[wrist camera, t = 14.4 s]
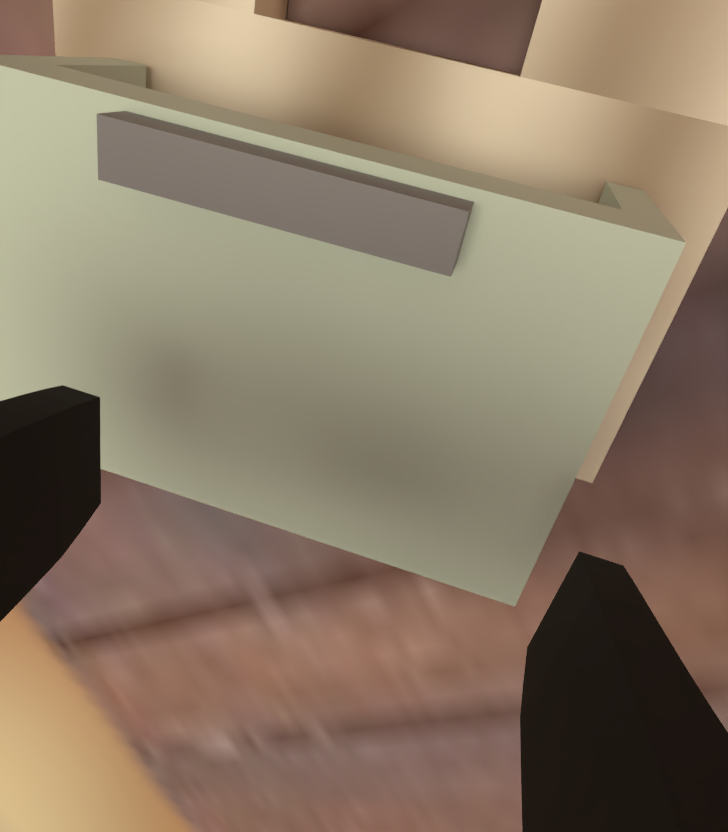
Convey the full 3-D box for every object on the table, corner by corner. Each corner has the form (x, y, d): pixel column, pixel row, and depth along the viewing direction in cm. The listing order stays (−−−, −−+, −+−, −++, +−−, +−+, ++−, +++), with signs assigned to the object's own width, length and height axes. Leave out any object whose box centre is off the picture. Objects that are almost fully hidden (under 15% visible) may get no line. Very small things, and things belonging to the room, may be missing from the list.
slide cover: (643, 190, 13) (697, 255, 9) (521, 483, 17) (513, 635, 13) (114, 58, 15) (-84, 52, 10) (117, 358, 19) (-24, 453, 14)
